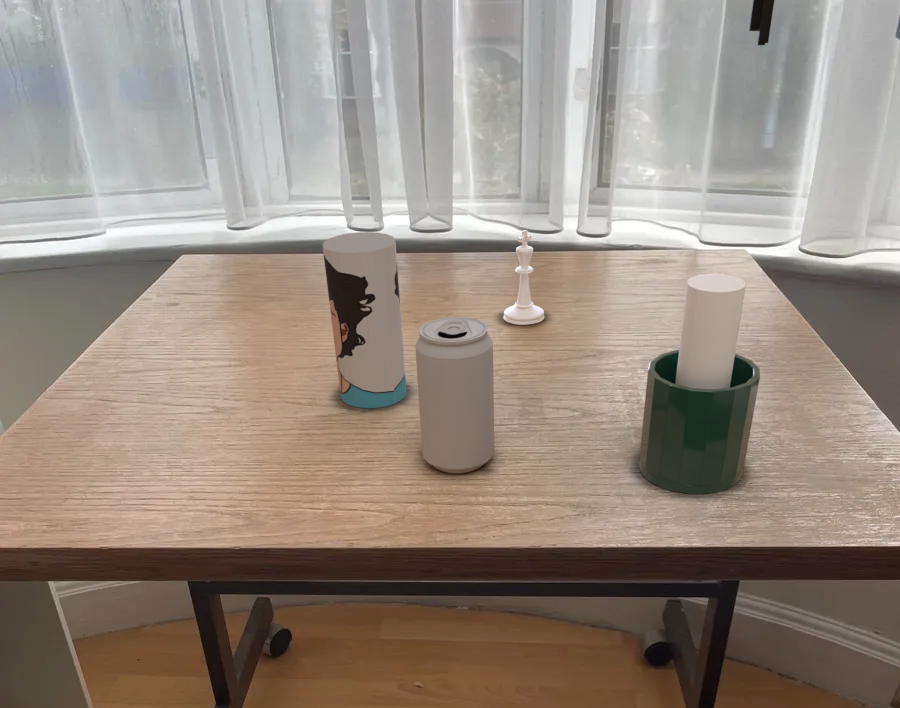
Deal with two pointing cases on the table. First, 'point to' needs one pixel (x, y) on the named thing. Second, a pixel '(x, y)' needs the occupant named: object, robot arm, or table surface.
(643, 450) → the cup
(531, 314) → the chess piece
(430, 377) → the beverage can
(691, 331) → the tube
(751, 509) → the table surface
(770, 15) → the robot arm
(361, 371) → the cup
